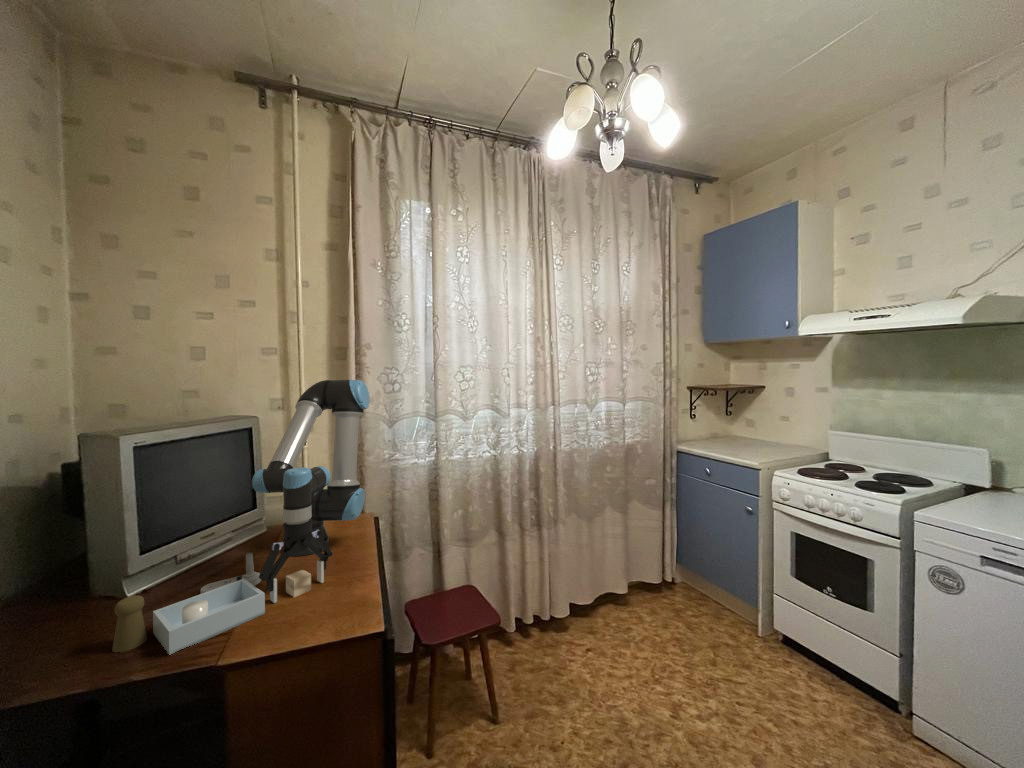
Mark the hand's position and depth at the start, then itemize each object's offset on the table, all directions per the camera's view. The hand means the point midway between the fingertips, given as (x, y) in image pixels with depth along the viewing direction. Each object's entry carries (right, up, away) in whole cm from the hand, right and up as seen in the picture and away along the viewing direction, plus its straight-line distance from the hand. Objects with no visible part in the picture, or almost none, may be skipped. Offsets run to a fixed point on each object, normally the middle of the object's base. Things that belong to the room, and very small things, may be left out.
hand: (298, 591), depth 117 cm
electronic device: (-22, -1, +2) cm, 22 cm away
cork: (-28, -1, -23) cm, 36 cm away
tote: (-14, 0, -15) cm, 21 cm away
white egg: (-14, 0, -20) cm, 25 cm away
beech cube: (0, 0, 0) cm, 0 cm away
